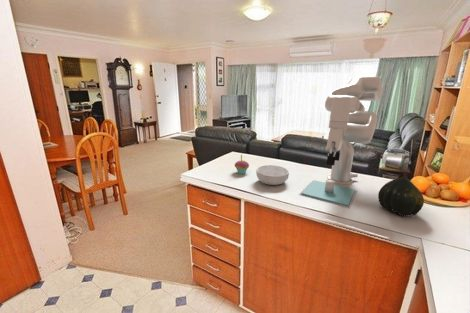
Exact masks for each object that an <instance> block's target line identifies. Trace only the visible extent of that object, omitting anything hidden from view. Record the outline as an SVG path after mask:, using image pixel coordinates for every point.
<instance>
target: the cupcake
mask: <svg viewBox="0 0 470 313" xmlns="http://www.w3.org/2000/svg"><path fill="white" fill-rule="evenodd" d="M234 167H235V169H236V172H237V173H238V174H240V175H245V174H246V173H247V170H248V169H249V168H250V164H249V162H247V161H245V160H243V155H242V153H241V154H240V160H238V161H236V162H235V163H234Z"/></svg>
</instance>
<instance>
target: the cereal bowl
mask: <svg viewBox="0 0 470 313" xmlns="http://www.w3.org/2000/svg"><path fill="white" fill-rule="evenodd" d="M255 172H256V177H257V179H258V180H259V181H260V182H261V183H264V184H265V185H269V186H276V185H281V184H284V183H285V182H286V181H287V180H288V179H289V175H290V171H289V170H288V169H287V168H285V167H283V166H280V165H272V164H271V165H269V164H268V165H261V166H258V167H257V168H256V170H255Z"/></svg>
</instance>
